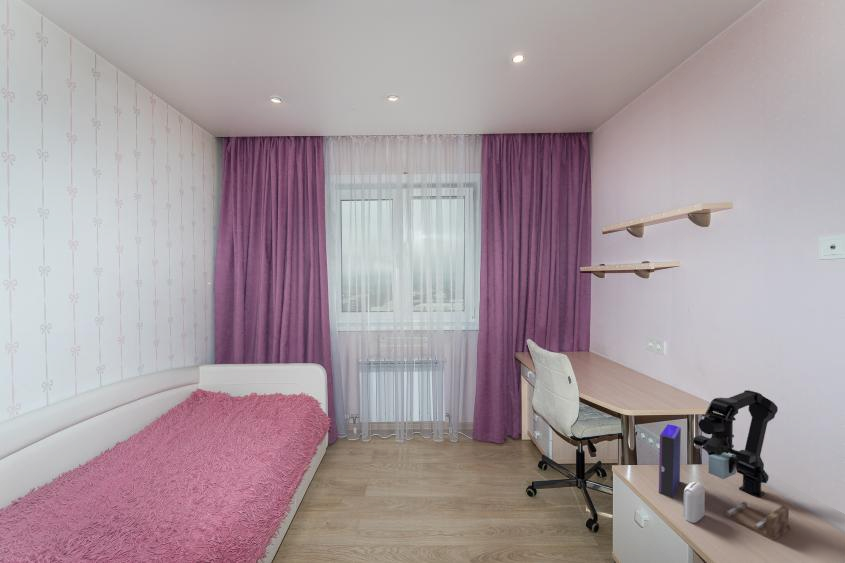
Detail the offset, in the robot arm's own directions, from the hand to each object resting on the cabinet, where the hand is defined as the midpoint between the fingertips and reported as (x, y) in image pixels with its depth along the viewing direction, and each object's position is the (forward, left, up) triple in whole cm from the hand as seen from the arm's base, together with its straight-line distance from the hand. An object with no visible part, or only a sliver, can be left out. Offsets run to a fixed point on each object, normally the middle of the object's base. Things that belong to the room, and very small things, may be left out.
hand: (722, 469), depth 141 cm
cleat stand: (+5, +12, -12) cm, 18 cm away
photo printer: (+23, +1, -12) cm, 26 cm away
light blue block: (0, 0, -2) cm, 2 cm away
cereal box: (+10, -14, -12) cm, 21 cm away
